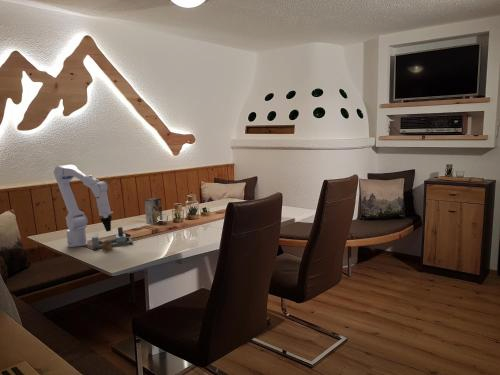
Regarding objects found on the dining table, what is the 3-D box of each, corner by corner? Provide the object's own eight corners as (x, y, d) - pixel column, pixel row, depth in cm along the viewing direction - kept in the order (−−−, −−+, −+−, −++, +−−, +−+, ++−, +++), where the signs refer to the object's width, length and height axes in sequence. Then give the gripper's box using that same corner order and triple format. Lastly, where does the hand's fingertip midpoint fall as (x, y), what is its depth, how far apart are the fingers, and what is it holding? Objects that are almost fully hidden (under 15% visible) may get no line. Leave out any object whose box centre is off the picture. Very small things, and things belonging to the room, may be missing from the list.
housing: (102, 251, 198) (101, 241, 198) (102, 248, 202) (101, 239, 202) (111, 250, 200) (111, 240, 199) (111, 247, 204) (110, 238, 203)
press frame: (92, 249, 202) (91, 238, 201) (93, 244, 212) (92, 233, 211) (132, 244, 209) (131, 233, 208) (131, 239, 219) (130, 229, 218)
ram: (116, 245, 208) (115, 229, 206) (116, 241, 215) (114, 226, 214) (126, 243, 209) (125, 228, 208) (125, 240, 217) (124, 225, 216)
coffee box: (156, 220, 266) (154, 197, 264) (162, 221, 262) (161, 198, 260) (146, 223, 258) (144, 199, 256) (152, 224, 255) (151, 200, 252)
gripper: (111, 203, 195) (117, 230, 196) (111, 202, 209) (116, 227, 210) (96, 206, 193) (102, 233, 194) (97, 205, 206) (102, 230, 207)
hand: (108, 230), depth 201 cm, fingers open, 7 cm apart
